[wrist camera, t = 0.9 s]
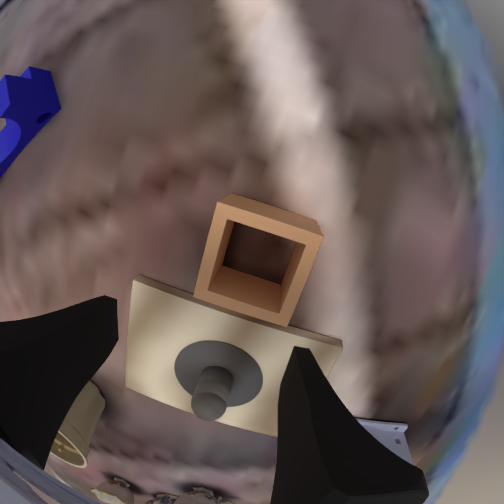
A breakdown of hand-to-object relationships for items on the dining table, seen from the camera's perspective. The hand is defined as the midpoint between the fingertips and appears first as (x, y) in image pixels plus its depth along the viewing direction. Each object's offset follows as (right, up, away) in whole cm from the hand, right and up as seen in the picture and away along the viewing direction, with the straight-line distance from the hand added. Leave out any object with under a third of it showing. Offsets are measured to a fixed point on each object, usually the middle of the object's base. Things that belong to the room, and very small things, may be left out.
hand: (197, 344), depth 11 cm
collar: (+3, +4, +8) cm, 10 cm away
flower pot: (-17, -12, +16) cm, 27 cm away
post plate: (-1, -6, +12) cm, 13 cm away
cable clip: (-20, +15, +8) cm, 26 cm away
